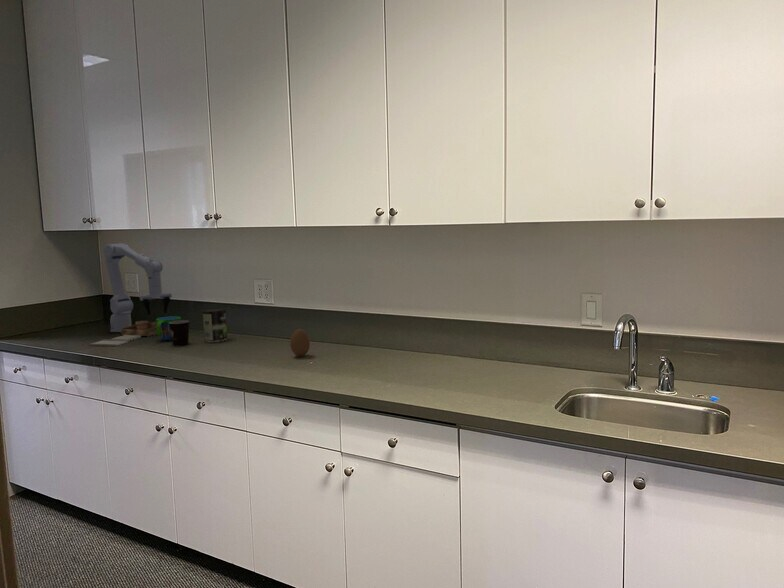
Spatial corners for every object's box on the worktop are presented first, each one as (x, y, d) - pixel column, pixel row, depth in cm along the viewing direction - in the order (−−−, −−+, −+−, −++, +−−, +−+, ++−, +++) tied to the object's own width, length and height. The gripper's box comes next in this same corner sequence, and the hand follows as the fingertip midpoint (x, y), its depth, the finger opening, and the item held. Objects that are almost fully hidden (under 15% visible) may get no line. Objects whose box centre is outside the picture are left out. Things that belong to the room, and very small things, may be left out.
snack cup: (173, 335, 294) (171, 314, 293) (190, 336, 290) (189, 315, 288) (148, 342, 280) (146, 320, 278) (166, 343, 276) (164, 321, 274)
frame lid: (88, 345, 276) (88, 343, 276) (102, 341, 285) (102, 339, 285) (115, 346, 272) (115, 344, 272) (128, 342, 281) (128, 340, 281)
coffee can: (230, 337, 285) (228, 307, 283) (223, 342, 275) (221, 311, 273) (208, 338, 285) (206, 308, 283) (201, 342, 275) (198, 311, 273)
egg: (314, 354, 245) (312, 328, 243) (303, 359, 238) (301, 331, 236) (298, 353, 248) (296, 326, 247) (287, 357, 241) (285, 330, 240)
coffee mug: (170, 343, 276) (169, 321, 275) (190, 341, 279) (189, 319, 277) (169, 348, 265) (167, 325, 264) (190, 346, 268) (188, 324, 266)
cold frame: (121, 335, 297) (120, 325, 297) (137, 331, 308) (136, 321, 307) (147, 337, 292) (146, 326, 291) (163, 332, 302) (162, 322, 302)
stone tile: (111, 340, 286) (111, 338, 286) (125, 336, 294) (125, 334, 294) (126, 341, 283) (126, 339, 283) (140, 337, 291) (140, 335, 291)
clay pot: (133, 335, 298) (132, 322, 297) (142, 332, 303) (141, 320, 303) (143, 335, 296) (142, 322, 296) (151, 333, 302) (150, 320, 301)
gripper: (141, 288, 290) (143, 316, 292) (172, 285, 298) (174, 312, 300) (137, 286, 296) (139, 314, 297) (168, 284, 304) (170, 311, 306)
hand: (157, 313), depth 299 cm, fingers open, 7 cm apart
